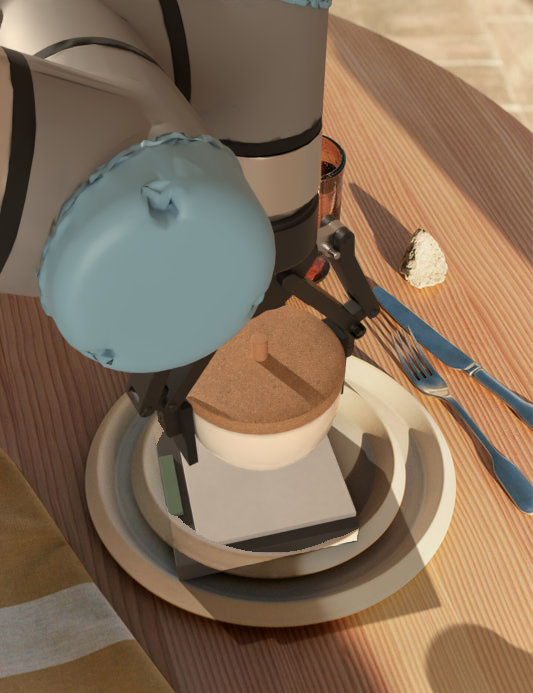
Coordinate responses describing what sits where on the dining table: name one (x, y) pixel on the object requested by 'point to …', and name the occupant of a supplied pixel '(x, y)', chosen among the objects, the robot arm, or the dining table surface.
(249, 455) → the lidded bowl
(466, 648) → the dining table surface
